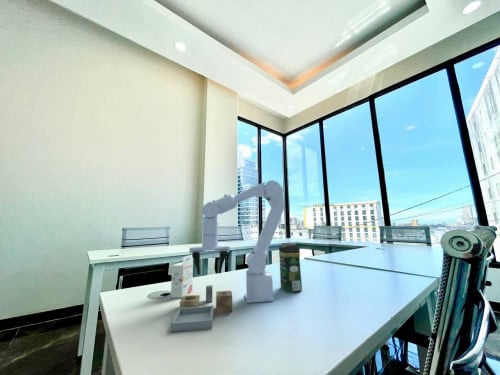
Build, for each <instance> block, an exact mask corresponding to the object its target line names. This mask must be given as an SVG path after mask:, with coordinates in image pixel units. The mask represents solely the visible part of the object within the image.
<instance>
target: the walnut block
mask: <svg viewBox="0 0 500 375" xmlns="http://www.w3.org/2000/svg"><path fill="white" fill-rule="evenodd" d="M215 294H216V296H215V314H216V315H220V314H232V313H233V292H232V290H223V291H221V290H219V291H216V292H215Z"/></svg>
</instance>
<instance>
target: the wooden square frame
mask: <svg viewBox="0 0 500 375" xmlns="http://www.w3.org/2000/svg"><path fill="white" fill-rule="evenodd" d="M200 296H201V295H200V294H191V295H190V294H187V295H186V296H182V298H180V301H179V308H188V307H200Z"/></svg>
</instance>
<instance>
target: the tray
mask: <svg viewBox="0 0 500 375" xmlns="http://www.w3.org/2000/svg"><path fill="white" fill-rule="evenodd" d="M213 318H214V305H204V306H199V307H188V308H180V307H179V308H178V310H177V312H176V314H175V316H174V318H173V320H172V322H171V327H170V329H171V330H170V332H171V333H179V332H187V331H188V332H189V331H199V330H210V329H211V330H212V329H213V322H214V321H213V320H214V319H213Z"/></svg>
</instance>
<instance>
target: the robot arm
mask: <svg viewBox="0 0 500 375" xmlns="http://www.w3.org/2000/svg"><path fill="white" fill-rule="evenodd" d="M253 197H259V198H262V197H263V198H264V199H265V200H266V201H267V202H268V204H269V206H270V209H269V212H268V215H267V217H266V220H265V221H264V224H263V226H262V229H261V232H260V234H259V237H258V239H257V241H256V244H255V246H254V247H253V249H252V251H251V252H250V254H248V255H247V257H246V264H247V266H248V269H247V270H246V271H245V272H246V273H245V275H246V276H245V277H246V284H245V285H246V286H245V287H246V293H245V294H244V298H245V301H246V303H248V304H249V303H250V304H252V303H263V302H274V301H275V300H274V286H273V284H274V283H273V282H274V281H273V276H272V273H271V272H269V271H268V272H267V271H266V267H267V264H266V262H267V258H268V252H269V248H270V245H271V243H272V240H273V238H274V236H275V233H276V230H277V227H278V225H279V223H280V221H281V218H282V216H283V213H284V210H285V207H286V206H285V198H284V189H283V187H282V186H281V183H279V181H278V180H275V179H270V180H268V181H267V182H266V181H264V182H262V183H259V184H256V185H254V186H252V187H250V188H248V189H245V190H244V191H242V192H240V193H238V194H235V195H233V194H224V195H223V197H221V198H219V199H216V200H215V199H213V200H212V202H211V201H209V202H207V203H204V205H203V206H202V209H201V210H202V215H203V216H202V228H201V229H202V231H201V233H202V235H201V236H202V237H201V238H202V239H201V241H202V242H201V246H195V247H189V251H188V252H189V254H190V255H192V257H193V262H194V264H195V267H196V272H197V275H198V276H199V275H200V274H201V265H200V262H201V254H202V253H203V254H204V253H205V254H208V253H209V254H211V253H219V269H218V273H219V274H222V270H223V265H224V263H225V259H226V257H227V255H228V253H230V249H231V248H230V246H228V245H227V246H219V237H218V236H219V233H218V232H219V223H218V215H223V214H225V213H227V212H230V211H232V210H234V209H236V208H237V205H238V204H239V203H241V202H244V201H246V200H249V199H252V198H253Z"/></svg>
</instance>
